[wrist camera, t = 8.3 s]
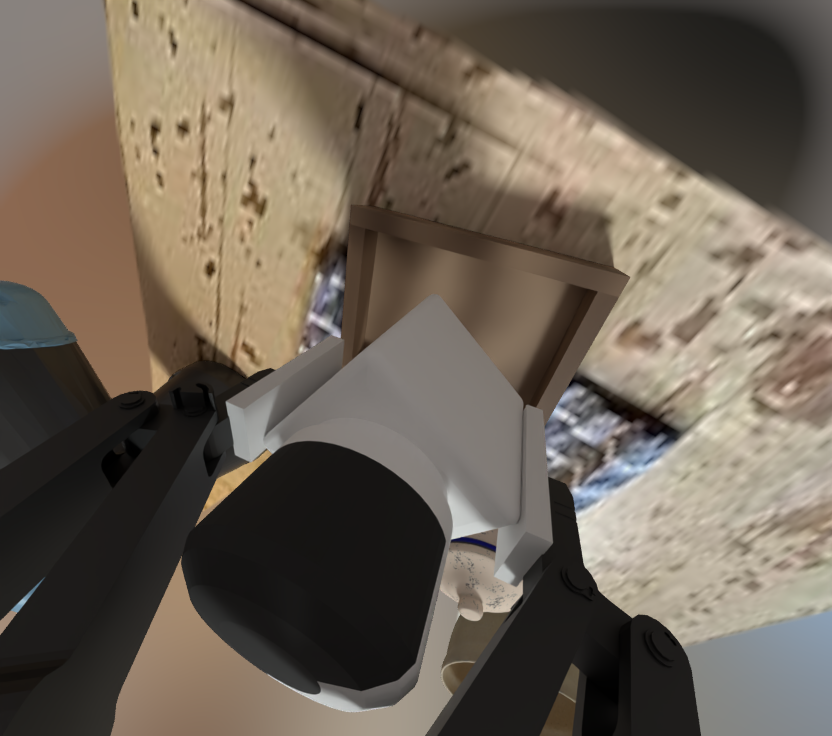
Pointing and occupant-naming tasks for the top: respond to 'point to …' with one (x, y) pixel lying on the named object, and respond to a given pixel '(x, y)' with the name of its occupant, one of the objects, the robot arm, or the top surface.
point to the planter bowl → (468, 648)
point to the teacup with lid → (477, 577)
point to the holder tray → (478, 296)
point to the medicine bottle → (362, 514)
